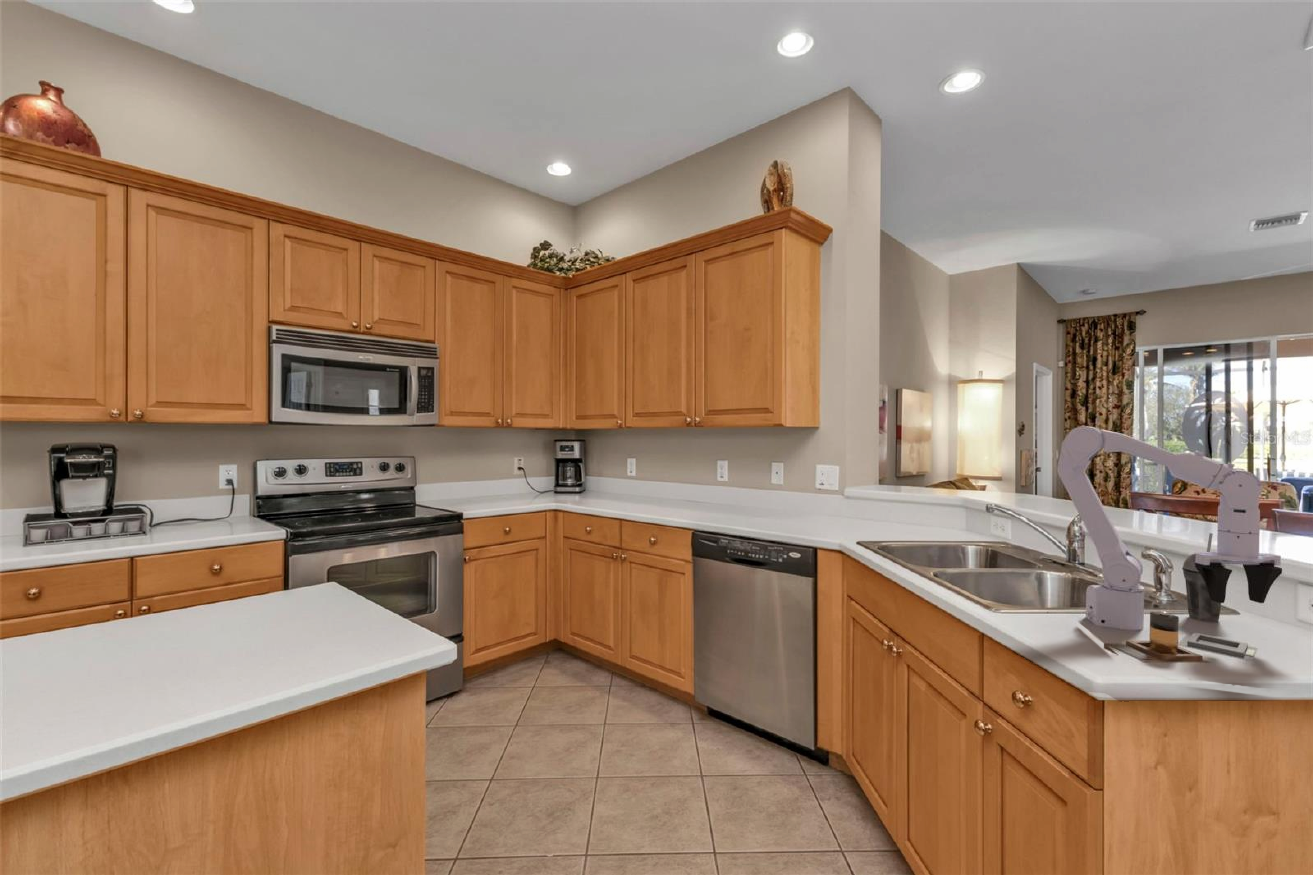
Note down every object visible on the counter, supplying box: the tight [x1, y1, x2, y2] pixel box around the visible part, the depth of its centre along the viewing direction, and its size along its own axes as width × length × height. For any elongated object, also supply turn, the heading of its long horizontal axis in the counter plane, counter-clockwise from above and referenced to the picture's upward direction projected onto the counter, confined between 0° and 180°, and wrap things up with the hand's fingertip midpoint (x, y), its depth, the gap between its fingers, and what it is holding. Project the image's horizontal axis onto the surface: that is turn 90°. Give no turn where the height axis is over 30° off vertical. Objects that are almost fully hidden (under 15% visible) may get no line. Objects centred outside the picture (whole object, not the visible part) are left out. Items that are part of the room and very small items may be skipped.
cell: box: [1148, 610, 1180, 654], centre depth 107 cm, size 4×4×8 cm
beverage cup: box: [1182, 532, 1227, 623], centre depth 126 cm, size 7×7×20 cm
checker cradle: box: [1178, 632, 1258, 662], centre depth 110 cm, size 10×10×2 cm
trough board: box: [1103, 640, 1211, 663], centre depth 107 cm, size 12×9×2 cm
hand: (1236, 601), depth 111 cm, fingers open, 7 cm apart
